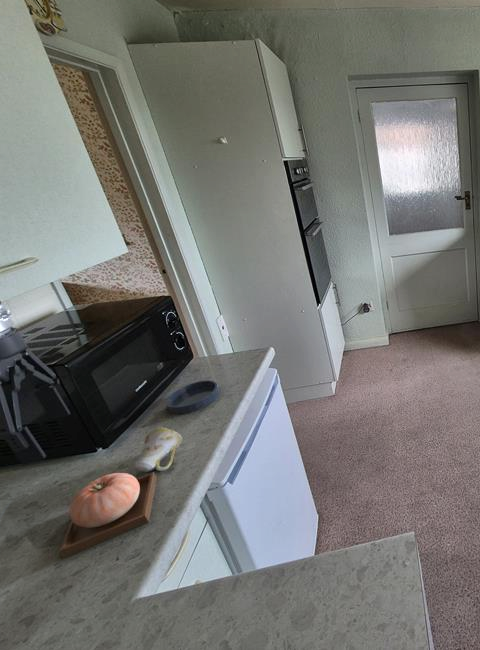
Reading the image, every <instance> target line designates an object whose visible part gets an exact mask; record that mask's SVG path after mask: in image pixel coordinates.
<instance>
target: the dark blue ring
mask: <svg viewBox="0 0 480 650" xmlns="http://www.w3.org/2000/svg"><path fill="white" fill-rule="evenodd" d="M220 393H221V391H220V387H219V385H218V383H217V382H216V381H214V380H210V379H206V380H205V379H204V380H198V381H195V382H191V383H189V384H185V385H183V386H182V387H180V388H178V389H177V390H175V391H173V392H172V393H171V394H170V395H169V396H168V397H167V399H166V402H165V403H166V406H167V408H168V409H169V411H170V412H171V414H173V415H186V414H190V413H194V412H197V411H199V410H201V409H203V408H206V407H208V406H209V405H211V404H212V403H214V401H216V399H217V398H219V396H220Z"/></svg>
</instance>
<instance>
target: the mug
mask: <svg viewBox="0 0 480 650" xmlns="http://www.w3.org/2000/svg"><path fill="white" fill-rule="evenodd" d="M182 442H183V436H182V435H181V434H180V433H179V432H176V431H175V430H172V429H169V428H166V427H154V428H153V429H151V430H150V431H149V433H148V434H147V435H146V437H145V440H144V444H143V448H142V451H141V453H140V456H139V457H138V458H137V459H136V461H135V462H134V463H135V464H134V465H135V468H136V469H137V471H139V472H144V473H148V472H151V471H153V470H154V469H156V471H157V472H164V471H166V470H168V469H169V468H170V467H171V465H172V464H173V461H174V458H175V457H174V456H175V453H176V451H177V449H178V448H179V446H180V445H181V443H182ZM168 456H169V462H168V463H167V464H166V465H164V466H160V465H161V461H162V460H163V459H165V458H167V457H168Z"/></svg>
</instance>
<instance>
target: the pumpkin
mask: <svg viewBox="0 0 480 650" xmlns="http://www.w3.org/2000/svg"><path fill="white" fill-rule="evenodd" d="M136 478H137V477H135V476H133V475H132V474H130V473H126V472H114V473H109V474H106V475H103V476H101V477H99V478H96V479H94V480H93V481H91V482H89V483H87V484H86V485H85V486H84V487H83V488H81V489H80V490H79V491H78V492H77V493H76V494H75V495H74V497H73V499H72V500H71V503H70V505H69V509H68V513H69V517H70V521H71V520H72V521H73V522H74V523H75V524H76V525H78V526H82V527H89V528H91V527H98V526H102V525H105V524H108V523H110V522H112V521H114V520H116V519H118V518H119V517H121V516H122V515H124V514H125V513H126V512H127V511H128V510H129V509H130V508H131V507H132V506H133V505H134V503H135V502H136V500H137V498H138V496H139V492H140V485H139V482H138V481H137V479H136Z"/></svg>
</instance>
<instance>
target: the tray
mask: <svg viewBox="0 0 480 650" xmlns="http://www.w3.org/2000/svg"><path fill="white" fill-rule="evenodd" d="M135 478H136V479H137V481H138V482H139V485H140V492H139V496H138V498H137V500H136V502H135V503H134V505H133V506H132V507H131V508H130V509H129V510H128V511H127V512H126V513H125V514H124V515H122V516H121V517H119V518H118V519H116V520H114V521H112V522H110V523H108V524H105V525H102V526H98V527H91V528H89V527H82V526H78V525H76V524H75V523H74V522H73V521H72V520H71V519H70V522H69V524H68V526H67V529H66V531H65V533H64V536H63V539H62V541H61V544H60V546H59V548H58V551H57V553H58V554H59V555H60V556H61V558H62V559H66V558H68V557H70V556H72V555H75V554H77V553H79V552H82V551H84V550H85V549H88V548H91V547H94V546H96V545H98V544H101V543H102V542H106V541H108V540H109V539H112V538H115V537H118V536H119V535H122V534H124V533H126V532H129V531H131V530H133V529H136V528H138V527H141V526H143V525H145V524H147V523H149V522H150V517H151V514H152V513H151V512H152V508H153V501H154V496H155V491H156V486H157V481H158V477H157V475H156V473H155V471H152V472H150V473H147V474H145V475H142V476H139V477H135Z"/></svg>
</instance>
